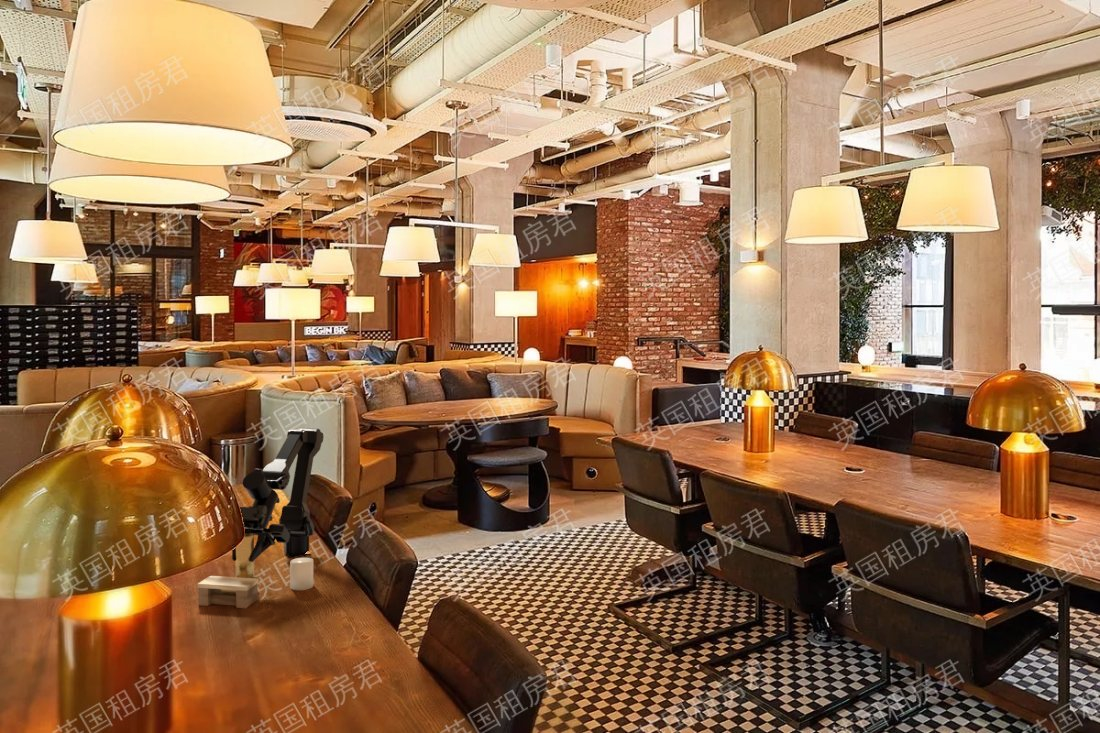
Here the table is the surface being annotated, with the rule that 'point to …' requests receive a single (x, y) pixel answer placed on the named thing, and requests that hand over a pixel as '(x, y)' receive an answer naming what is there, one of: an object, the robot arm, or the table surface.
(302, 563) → the white cylinder
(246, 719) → the table surface
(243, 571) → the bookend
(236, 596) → the bridge
